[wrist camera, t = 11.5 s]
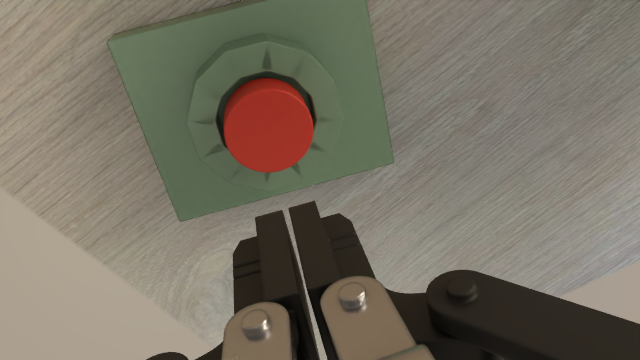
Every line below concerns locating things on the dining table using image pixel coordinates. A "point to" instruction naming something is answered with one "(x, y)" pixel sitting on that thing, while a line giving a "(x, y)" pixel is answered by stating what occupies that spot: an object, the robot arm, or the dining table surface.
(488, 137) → the dining table surface
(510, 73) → the dining table surface
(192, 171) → the control block
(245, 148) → the button
